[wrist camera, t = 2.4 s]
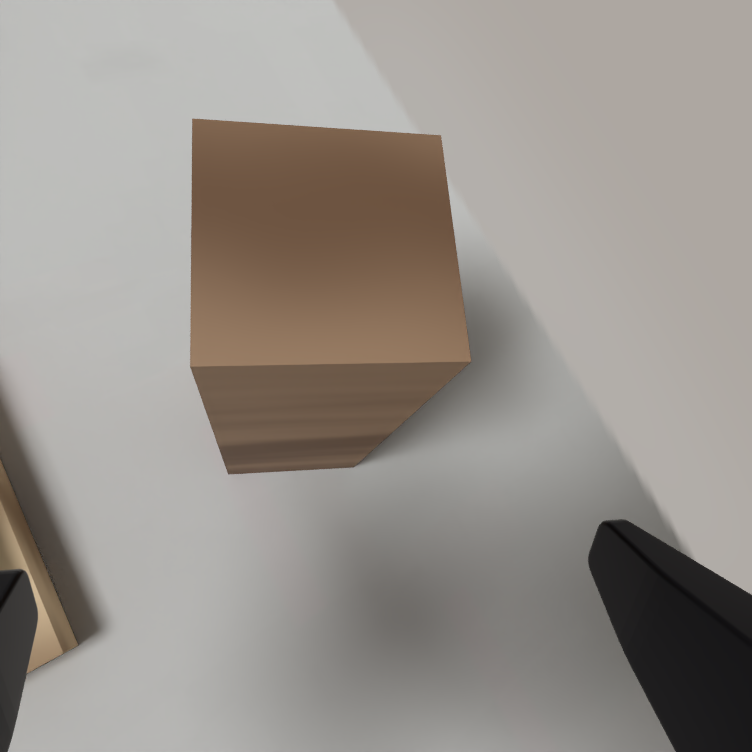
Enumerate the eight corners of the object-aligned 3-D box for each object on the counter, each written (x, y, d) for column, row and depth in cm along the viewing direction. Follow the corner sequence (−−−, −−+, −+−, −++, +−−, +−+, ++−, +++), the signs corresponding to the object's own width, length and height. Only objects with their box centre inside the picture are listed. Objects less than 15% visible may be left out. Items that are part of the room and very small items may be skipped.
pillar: (353, 467, 21) (470, 361, 10) (228, 474, 20) (189, 366, 9) (345, 352, 23) (441, 135, 11) (226, 353, 22) (192, 118, 10)
